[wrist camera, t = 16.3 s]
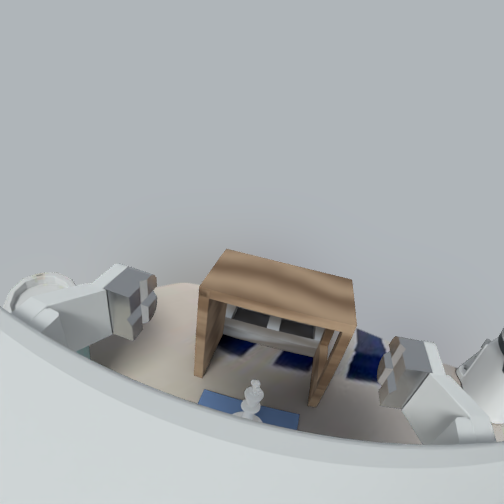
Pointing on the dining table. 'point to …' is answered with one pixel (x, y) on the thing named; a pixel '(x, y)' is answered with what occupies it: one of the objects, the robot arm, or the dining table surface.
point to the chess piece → (251, 402)
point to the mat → (234, 406)
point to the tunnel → (276, 312)
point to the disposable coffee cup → (36, 287)
